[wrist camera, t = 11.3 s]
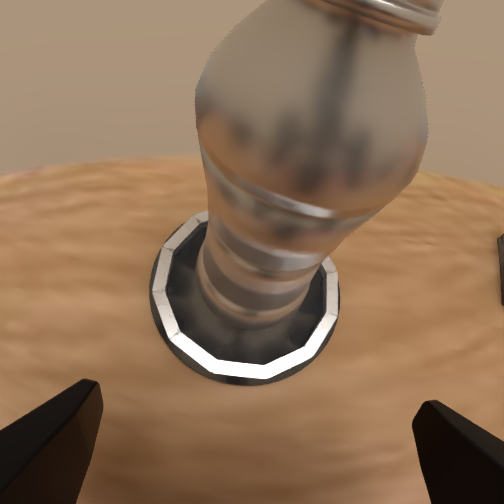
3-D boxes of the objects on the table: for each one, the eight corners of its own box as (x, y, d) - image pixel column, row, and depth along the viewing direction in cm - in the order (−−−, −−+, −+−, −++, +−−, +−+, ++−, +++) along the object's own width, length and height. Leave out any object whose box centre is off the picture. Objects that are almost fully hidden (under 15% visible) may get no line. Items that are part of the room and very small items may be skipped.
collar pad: (194, 416, 17) (193, 417, 16) (129, 239, 22) (125, 230, 21) (367, 334, 21) (376, 330, 20) (286, 190, 26) (290, 180, 25)
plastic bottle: (235, 228, 23) (298, -86, 5) (313, 283, 22) (506, 4, 4) (176, 295, 20) (124, -93, 2) (261, 359, 19) (561, 36, 1)
